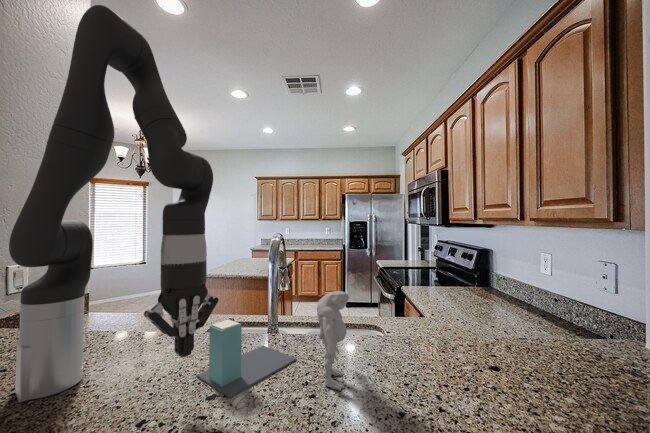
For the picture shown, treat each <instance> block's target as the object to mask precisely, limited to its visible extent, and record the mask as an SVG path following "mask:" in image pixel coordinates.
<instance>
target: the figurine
mask: <svg viewBox="0 0 650 433" xmlns="http://www.w3.org/2000/svg"><path fill="white" fill-rule="evenodd" d="M349 299H350V297H349V295H348V293H346V292H345V291H342V290H336V291H335V290H334V291H330V292H328V293H326V294H325V295H323V296H322V297H321V298H320V299H318V301H317V304H316V306H317V307H316V316H317V320H318V323H319V334H318V338H319V339H320V340H322V341H323V346H324V347H325V352H324V359H325V361H324V369H325V371H324V377H326V380H325V382H324V385H325V386H326V387H329V388H331V389H333V390H337V391H340V392H341V391H342V389H344V383H343V382H339V381H336V380H335V379H333V378H332V376H335V377H338V376H339V377H342V376H343V373H342V371H341V370H340V369H338V368H336V369H334V368H333V364H334V363H333V362H334V361H336V362H338V361H339V360H338V357H337V355H340V351H339V349H338V347H337V346H338V342H342V341H344V339H345V338H346V337H347V326H346V323H345V322H344V321H343V315H342V313H341V310H343V309H344V308H346V307H345V306H346V305H347V303H348V301H349Z"/></svg>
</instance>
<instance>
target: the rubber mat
mask: <svg viewBox="0 0 650 433" xmlns="http://www.w3.org/2000/svg"><path fill="white" fill-rule="evenodd" d="M297 359H298V358H296V357H294V356H292V355H289V354H286V353H284V352H281V351H279V350H275V349H273V348H271V347H269V346H265V345H261V346H258V347H256V348H254V349H252V350H249V351H248V352H245V353H243V354H241V377H240V378H238V379H236V380H234V381H232V382H230V383H228V384H226V385H224V386H222V387H221V386H219V385H218V384H216V383H214V382H213V381H211V380H209V369H207V370H204V371H203V372H199V373H198V374H196V378H198V379H199V380H200V381H202V382H204V383H205V384H207V385H209V386H210V387H212V388H214V389H215V390H217V391H219V392H220V393H222V394H224V395H225V396H226V397H228V398H230V399H231V398H233V397H235V396H237V395H239V394H240V393H241V392H243V391H244V392H245V390H247V389H249V388H250V387H252V386H255V385H256V384H257V383H259V382H261V381H263V380H265V379H266V378H268V377H270V376H272V375H273V374H275V373H276V372H278V371H280V370H282V369H283V368H284V369H285V367H288V366H289V365H291V364H293V363H294V362H296V361H297Z"/></svg>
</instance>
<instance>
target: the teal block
mask: <svg viewBox="0 0 650 433" xmlns="http://www.w3.org/2000/svg"><path fill="white" fill-rule="evenodd" d="M242 326H243V325H242V324H241V323H239V322H238V321H235V320H231V319H226V320H222V321H219V322H217V323H213V324H211V325H209V346H208V347H209V351H208V353H209V354H208V356H209V359H208V360H209V362H208V363H209V364H208V366H209V368H208V370H209V380H211V381H213V382H214V383H216V384H218V385H219V386H221V387H222V386H224V385H226V384H228V383H230V382H232V381H234V380H236V379H238V378H240V377H241V355H242V335H243V334H242V330H243V329H242Z"/></svg>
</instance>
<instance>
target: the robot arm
mask: <svg viewBox="0 0 650 433" xmlns="http://www.w3.org/2000/svg"><path fill="white" fill-rule="evenodd" d="M154 56H155V55H154V53H153V50H152V48H151V46H150V44H149V42H148V40H147V39H146V38H145V37H144V36H143V34H141V33H140V32H139V31H138V30H137V29H135V28H134V27H133V26H131V24H130V23H128V22H127V21H126V20H124V18H122V17H121V16H120V15H119V14H118V13H116V12H114V11H113V10H112V9H111V8H109V7H108V6H106V5H104V4H103V5H102V4H95V5H91V6H90V7H89V8H87V10H86V11H85V12H84V13H83V14H82V17H81V18H80V20H79V21H78V25H77V29H76V34H75V38H74V42H73V49H72V52H71V59H70V64H69V70H68V74H67V78H66V82H65V86H64V90H63V94H62V97H61V100H60V103H59V106H58V109H57V112H56V114H55V116H54V119H53V122H52V125H51V127H50V132H49V135H48V138H47V141H46V147H45V149H44V152H43V156H42V159H41V162H40V165H39V168H38V170H37V171H38V172H37V173H36V176H35V179H34V182H33V184H32V186H31V190H30V192H29V193H28V196H27V198H26V200H25V202H24V204H23V205H22V208H21V210H20V213H19V215H18V217H17V219H16V221H15V222H14V225H13V227H12V230H11V233H10V237H9V242H8V246H9V247H8V251H9V257H11V259H12V261H13V262H14V263H15V264H17V265H19V266H20V267H24V268H40V267H47V270H46V272H45V273H44V274H43V275H41V277H39V278H38V279H36V280H35V281H33V282H31V283H29V284H27V285H26V286H24V287H23V288H22V289H21V292H20V308H19V333H18V341H17V342H16V360H15V383H14V385H15V386H14V392H15V395H16V398H17V401H18V403H23V402H27V401H30V400H36V399H37V400H38V399H42V398H46V397H50V396H52V395H53V396H54V395H57V394H59V393H61V392H63V391H66V390H68V389H70V388H72V387H74V386H75V385H77V384H78V383H80V381H82V378H83V369H84V367H83V365H84V336H85V335H84V334H85V333H84V330H85V329H84V328H85V301H86V300H85V294H86V287H87V285H88V283H89V281H90V278H91V270H92V261H93V260H92V258H93V248H94V243H93V242H94V241H93V240H94V238H93V235H92V232H91V229H90V228H89V226H88V225H87V224H86V223H85V222H83V221H81V220H78V219H66V218H64V216H65V214H66V211H67V209H68V206H69V204H70V202H71V201H72V200H73V198H74V196H75V195H76V194H77V193H78V192H79V191H80V190H82V189H83V188H84V187H85V186H86V185H87V184H88V183H89V182H90V181H91V180H93V179H95V177H96V176H97V175H98V174H99V173H100V172H101V171H102V170H103V169H104V167H105V166H106V164H107V162H108V159H109V156H110V153H111V150H112V147H113V143H114V140H115V126H114V121H113V117H112V114H111V111H110V108H109V104H108V100H107V95H106V89H105V88H106V87H105V80H106V74H107V68H108V66H109V67H111V68H112V69H113V70H115V71H117V72H120V73H122V74H123V75H124V77H125V78H126V79H127V80H128V81H129V83H130V85H131V86H132V87H133V89H134V92H135V94H134V96H133V98H132V112H133V113H132V114H133V116H134V120H135V121H136V123H137V125H138V127H139V129H140V131H141V133H142V135H143V137H144V139H145V141H146V146H147V147H146V150H147V156H148V162H149V168H150V171H151V174H152V175H153V177H154V178H155V179H156V180H157V181H158V182H159V184H161V185H162V186H165V187H166V188H170V189H177V190H180V194H179V198H178V200H177V201H174V202H169V203H167V204H166V205H164V207H163V210H162V238H161V244H160V294H159V296H158V297H157V303H156V304H155V305H154V306H153V307H152V308H151V309H146V310H144V312H143V316H144V317H145V318H146V319H147V320H148V321H149V322H150V323H152V325H154V326H155V328H157V329H158V330H159V331H160V332H161V333H162V334H163V335H166V336H168V337H170V338H173V337H174V353H175V354H176V355H177V356H178V357H179V358H186V357H187V356H188V357H189V356H191V355H192V351H194V347H195V333H196V330H198V329H200V328H203V327H204V326H205V324H206V323H207V321H208V319H209V318H210V317H211V314H212V313H213V311H214V310H215V309H216V308H215V307H216V306H217V305H218V303H219V299H220V298H218V297H216V296H213V295H211V294H210V293H209V290H208V288H207V286H206V284H207V279H208V278H207V270H208V269H207V263H208V262H207V256H208V252H207V248H208V247H207V242H206V215H205V214H206V211H207V207H208V204H209V200H210V197H211V196H210V195H211V193H212V188H213V184H214V173H213V168H212V166H211V164H210V162H209V161H208V160H207V159H206V158H204V157H202V156H200V155H197V154H194V153H191V152H189V151H186V150H183V148H184V147H185V145H186V144H187V141H188V139H187V138H188V137H187V132H186V130H185V128H184V126H183V124H182V122H181V120H180V118H179V117H178V115H177V113H176V110H175V109H174V107H173V105H172V104H171V101H170V99H169V98H168V95H167V93H166V90H165V87H164V84H163V82H162V78H161V75H160V73H159V68H158V66H157V63H156V60H155V57H154ZM163 310H164V311H165V312H166V313H167V315H169V316H170V322H171V325H172V326H171V325H170V324H169V323H168V321H166V319H164V318H163V317H164V313H165V312H164V311H163Z"/></svg>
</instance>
